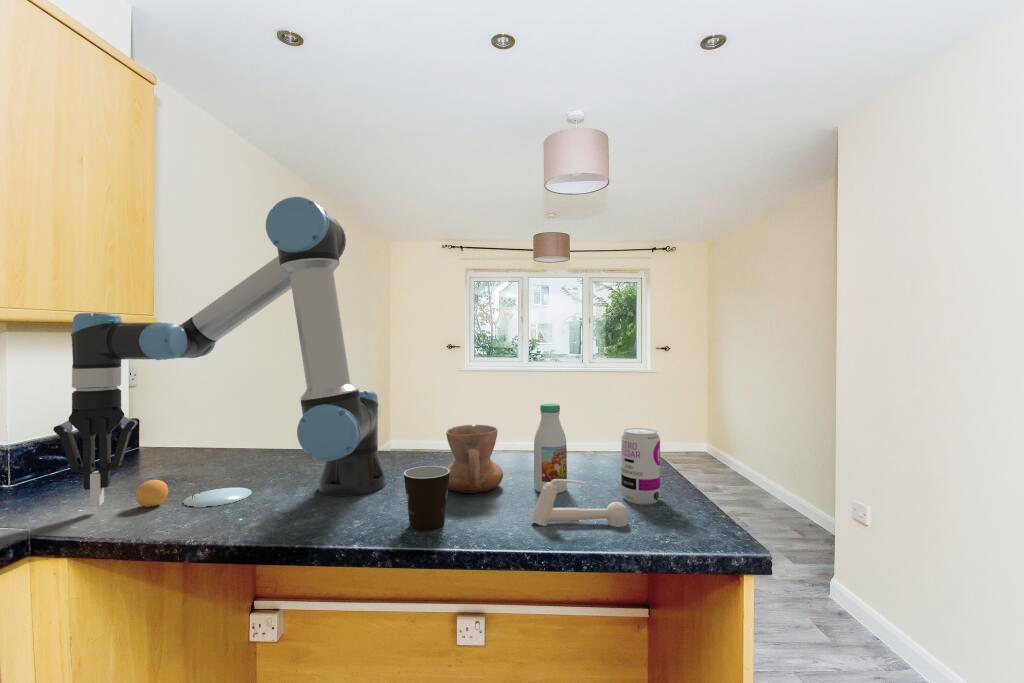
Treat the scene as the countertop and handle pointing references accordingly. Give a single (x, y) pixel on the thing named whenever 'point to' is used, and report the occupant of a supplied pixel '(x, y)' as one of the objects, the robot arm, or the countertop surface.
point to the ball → (151, 493)
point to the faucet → (574, 509)
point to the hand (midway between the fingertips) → (97, 504)
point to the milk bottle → (550, 449)
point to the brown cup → (426, 496)
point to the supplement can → (640, 466)
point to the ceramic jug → (473, 459)
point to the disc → (217, 497)
